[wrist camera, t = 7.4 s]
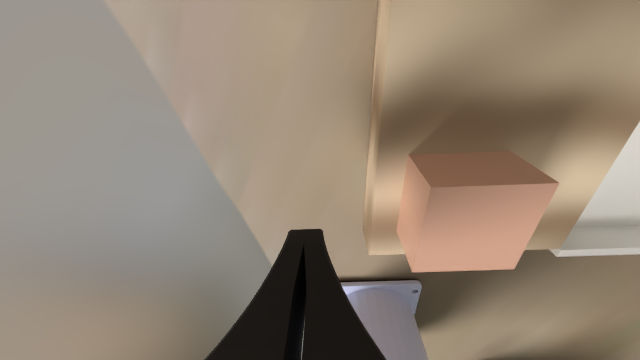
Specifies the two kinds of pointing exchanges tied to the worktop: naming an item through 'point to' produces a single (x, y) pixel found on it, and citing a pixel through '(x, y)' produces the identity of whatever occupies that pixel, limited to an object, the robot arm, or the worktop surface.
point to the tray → (611, 210)
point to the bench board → (502, 97)
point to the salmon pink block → (470, 210)
